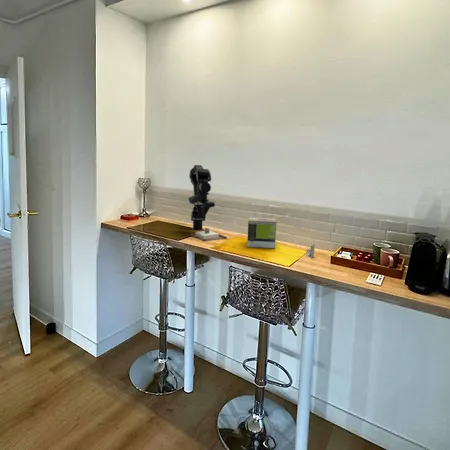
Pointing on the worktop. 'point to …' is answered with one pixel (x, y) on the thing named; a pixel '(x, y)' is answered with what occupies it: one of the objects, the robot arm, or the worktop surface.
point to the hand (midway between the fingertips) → (201, 216)
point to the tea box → (261, 232)
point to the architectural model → (311, 251)
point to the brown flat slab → (209, 238)
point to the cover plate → (207, 234)
